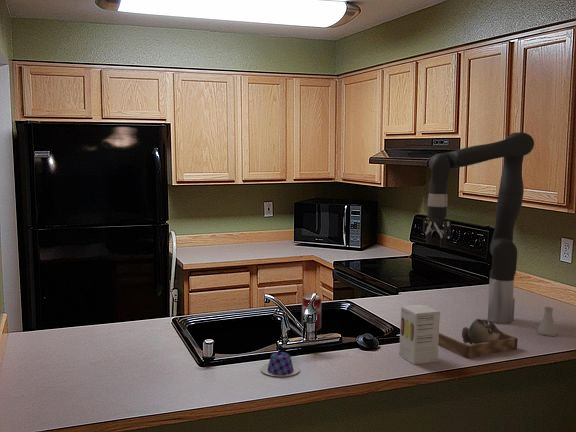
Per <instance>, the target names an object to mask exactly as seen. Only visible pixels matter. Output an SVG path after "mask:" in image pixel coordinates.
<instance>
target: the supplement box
mask: <svg viewBox="0 0 576 432" xmlns="http://www.w3.org/2000/svg"><path fill="white" fill-rule="evenodd" d="M440 319H441V311H440V310H437V309H435V308H432V307H431V306H428V305H426V304H416V305H415V304H413V305H402V306H401V308H400V327H399V329H400V332H399V350H398V356H399V357H401V358H403V359H405V360H406V361H408V362H410V364H412V365H420V364H422V365H423V364H429V363H436V362H438V359H439V357H438V356H439V346H438V342H439V333H440V322H441V320H440Z"/></svg>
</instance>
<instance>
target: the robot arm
mask: <svg viewBox="0 0 576 432" xmlns="http://www.w3.org/2000/svg"><path fill="white" fill-rule="evenodd" d="M534 148H535V140H534V138H533V137H532V135H530V134H529V133H526V132H522V131H521V132H512V133H510V134H509V135H507V137H506V138H505V139H502V140H499V141H495V142H492V143H491V142H490V143H485V144H478V145H472V146H469V147H468V146H467V147H464V148H460V149H456V150H453V151H448V152H441V153H438V154H437V153H436V154H434V155H432V156H431V157H430V158H429V160H428V167H429V168H430V170H431V179H430V180H429V183H428V197H427V216H426V217H423V221H422V233H424V234H425V242H426V243H425V244H426V245H432V243H433V242H432V241H433V232H437V233H438V235H439V236H440V237H439V238H440V239H439V248H446V247H447V238H448V237H449V238H450V237H451V235H452V231H451V229H452V225H451V224H452V222H451V221H446V220H445V219H446V218H447V217H448V216H447V215H448V181H449V176H450V170H451V169H455V168H464V167H469V166H473V165H476V164H480V163H483V162H489V161H493V160H495V159H500V158H503V160H502V161H503V165H502V171H501V176H500V181H499V182H500V184H499V189H498V195H497V201H496V210H495V211H496V212H495V224H494V230H493V234H492V238H491V241H490V245H489V253H490V254H491V256H492V260H491V261H492V263H491V270H490V272H489V283H488V284H489V285H488V286H489V288H488V305H487V320H488V321H491V322H492V323H493V324H495V323H496V324H501V325H502V324H511V323H513V322H514V320H515V302H516V298H515V297H514V287H515V275H516V273H517V263H518V249H517V246H516V244H515V243H514V229H515V225H516V222H517V219H518V217H519V215H520V213H521V209H522V206H523V198H524V190H525V189H524V180H523V171H522V169H523V164H524V163H523V162H524V158H525V157H524V156H527V155H529V154H530V153H531V152H532V151H533V149H534Z"/></svg>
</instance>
